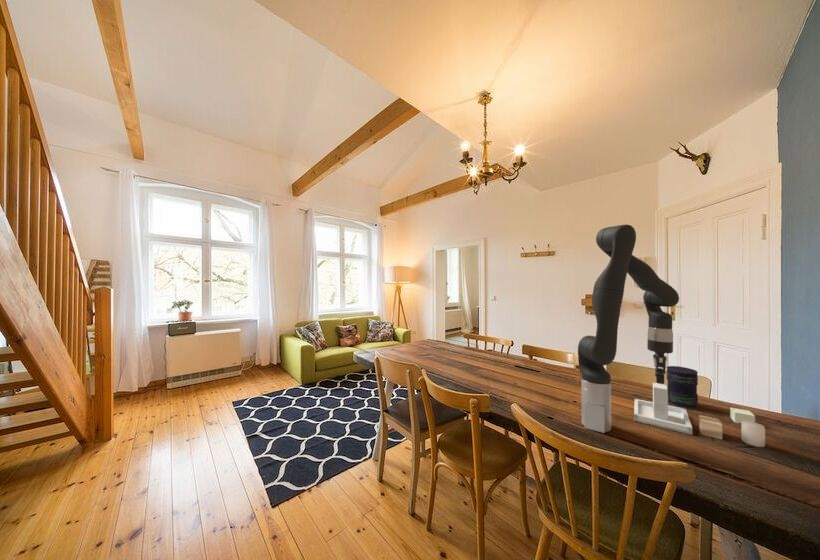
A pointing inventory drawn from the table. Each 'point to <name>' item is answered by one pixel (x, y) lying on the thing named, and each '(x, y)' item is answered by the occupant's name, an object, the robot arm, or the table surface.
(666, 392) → the skincare box
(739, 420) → the sage block
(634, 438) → the table surface
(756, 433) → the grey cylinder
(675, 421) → the tray
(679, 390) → the storage jar
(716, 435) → the beech block
